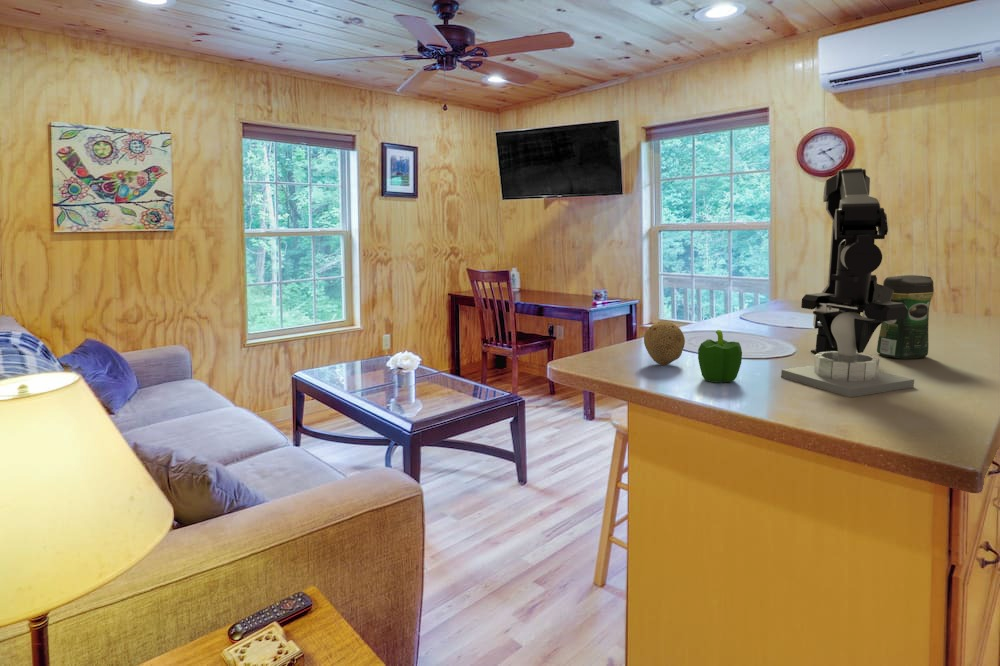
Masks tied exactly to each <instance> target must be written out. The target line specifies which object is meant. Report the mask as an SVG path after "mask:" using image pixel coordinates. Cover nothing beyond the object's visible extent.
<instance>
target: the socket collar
mask: <svg viewBox="0 0 1000 666" xmlns="http://www.w3.org/2000/svg"><path fill="white" fill-rule="evenodd" d="M814 365H815V367H814V372H815V373H816V374H817V375H819V376H822V377H826V378H829V379H835V380H842V381H861V382H863V381H871V380H875V379H876V378H877V377H878V371H879V368H880V367H879V366H880V358H878V357H876V356H874V355H872V354H871V355H870V354H866V353H864V352H863V353H858V352H856V355H855V357H854V362H845V361H839V354H838V351H826V352H819V353H815V358H814Z"/></svg>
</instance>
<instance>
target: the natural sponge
mask: <svg viewBox="0 0 1000 666" xmlns="http://www.w3.org/2000/svg"><path fill="white" fill-rule="evenodd" d="M685 339H686V338H685V335H684V332H683V331H682V329H681V328H680V327H679V326H678V325H676V324H674V323H673V322H670V321H668V320H659V321H657V322H655V323H653V324H652V325H650V326H648V328H647V329H646V330H645V333H644V335H643V344H644V347H645V349H646V351H647V353H648V355H649V357H650V358H651V359H652V360H653V361H654V362H655V363H656V364H658V365H660V366H668V365H670V364H671V363H673V362H675V361H677V360H678V359H679V358H680V357H681V356H682V353H683V350H684V348H685V342H686V340H685Z"/></svg>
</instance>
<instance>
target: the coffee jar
mask: <svg viewBox="0 0 1000 666" xmlns="http://www.w3.org/2000/svg"><path fill="white" fill-rule="evenodd" d="M882 284H883V286H885V287H888V288H890V289H892V290H894V292H893V295H892V298H891V301H890V302H898V303H904V304H905V306H906V307H907V309H908V312H907V319H899V320H890V321H884V322H883V323H881V324H880V330H879V335H878V339H877V345H876V352H877V353H878V354H879V355H881V356H882V357H885V358H895V359H902V360H907V359H910V360H911V359H919V358H925V357H927V356H928V355H929V321H930V318H929V313H930V306H931V301H932V299H933V296H934V280H933V279H932V277H931V276H926V275H924V276H923V275H916V274H904V275H896V276H895V275H894V276H888V277H886V278H885V279H884V280H883V283H882Z"/></svg>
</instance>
